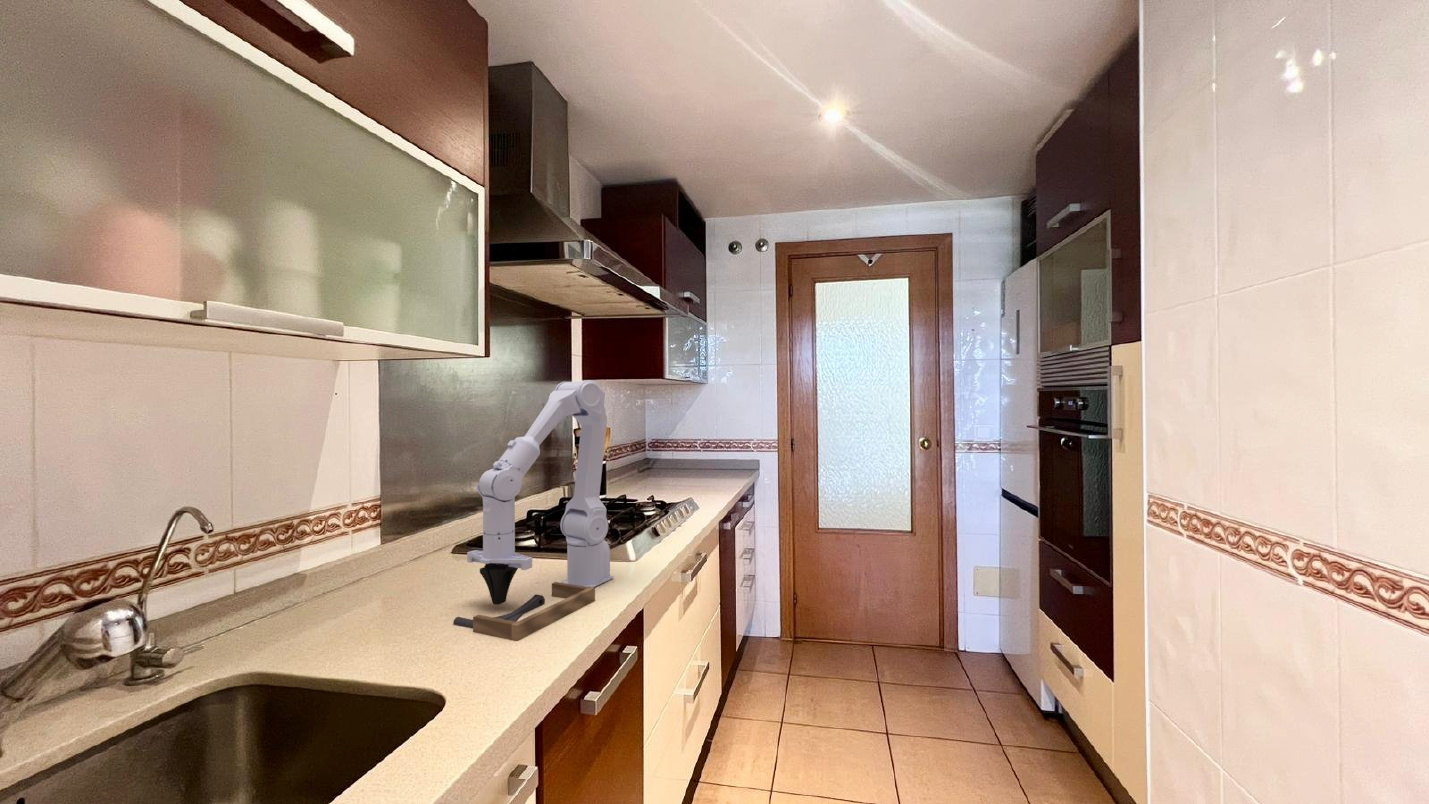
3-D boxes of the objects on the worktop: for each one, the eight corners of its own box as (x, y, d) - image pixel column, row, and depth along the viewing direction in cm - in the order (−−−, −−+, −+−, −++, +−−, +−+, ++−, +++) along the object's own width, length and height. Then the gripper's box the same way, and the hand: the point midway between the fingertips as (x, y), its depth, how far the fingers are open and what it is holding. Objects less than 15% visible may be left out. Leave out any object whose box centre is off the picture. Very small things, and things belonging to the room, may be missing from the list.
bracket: (572, 612, 109) (572, 597, 109) (516, 641, 96) (516, 624, 96) (513, 602, 115) (513, 588, 115) (453, 628, 101) (453, 612, 101)
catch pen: (555, 594, 118) (555, 581, 118) (595, 600, 114) (595, 587, 114) (473, 631, 98) (473, 616, 98) (517, 640, 94) (517, 625, 94)
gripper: (454, 532, 109) (454, 604, 109) (513, 539, 103) (513, 615, 103) (482, 525, 116) (482, 593, 116) (539, 531, 110) (539, 602, 110)
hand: (499, 603), depth 110 cm, fingers closed
